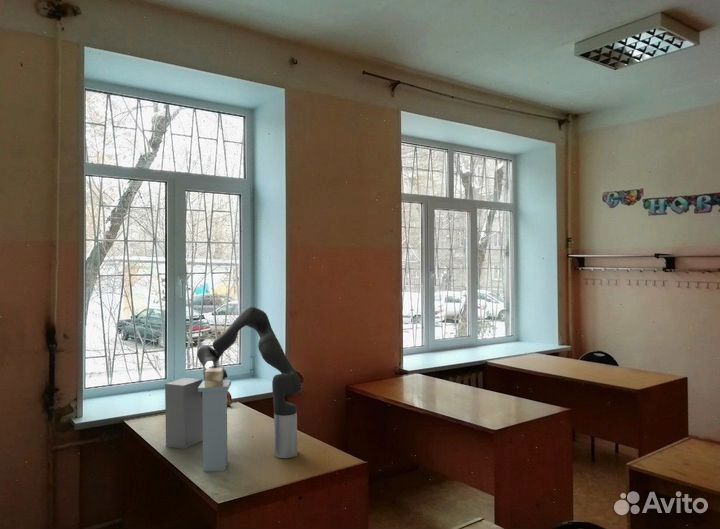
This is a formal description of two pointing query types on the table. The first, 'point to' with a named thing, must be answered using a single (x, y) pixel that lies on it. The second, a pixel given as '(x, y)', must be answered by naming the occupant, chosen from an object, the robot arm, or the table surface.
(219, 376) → the brown wooden bar
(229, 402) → the tin
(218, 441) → the tall plinth
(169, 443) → the grey tall block
